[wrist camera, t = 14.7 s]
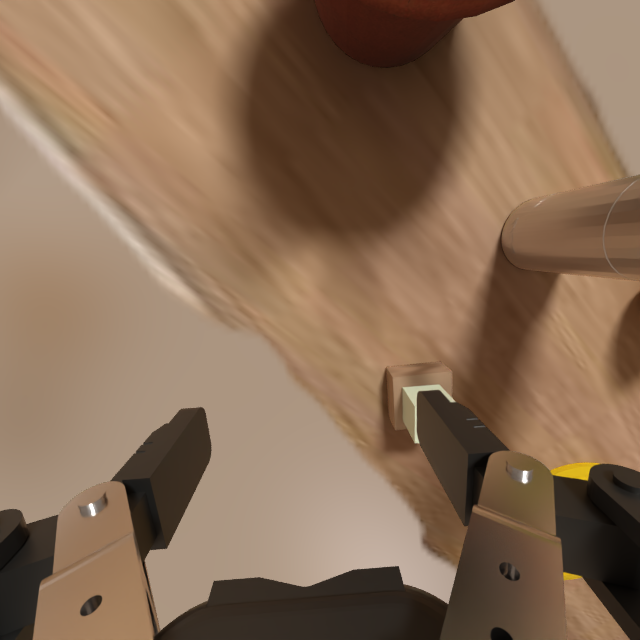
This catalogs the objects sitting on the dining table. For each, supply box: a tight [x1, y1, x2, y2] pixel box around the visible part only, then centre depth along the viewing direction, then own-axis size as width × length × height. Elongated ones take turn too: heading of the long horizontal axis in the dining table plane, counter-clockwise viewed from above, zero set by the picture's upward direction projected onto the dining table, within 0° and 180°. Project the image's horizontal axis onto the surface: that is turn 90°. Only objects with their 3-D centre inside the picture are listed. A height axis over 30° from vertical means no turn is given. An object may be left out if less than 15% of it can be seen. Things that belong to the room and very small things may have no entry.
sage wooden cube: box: [402, 385, 455, 443], centre depth 38 cm, size 5×5×5 cm
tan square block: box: [386, 361, 452, 430], centre depth 42 cm, size 8×8×4 cm
